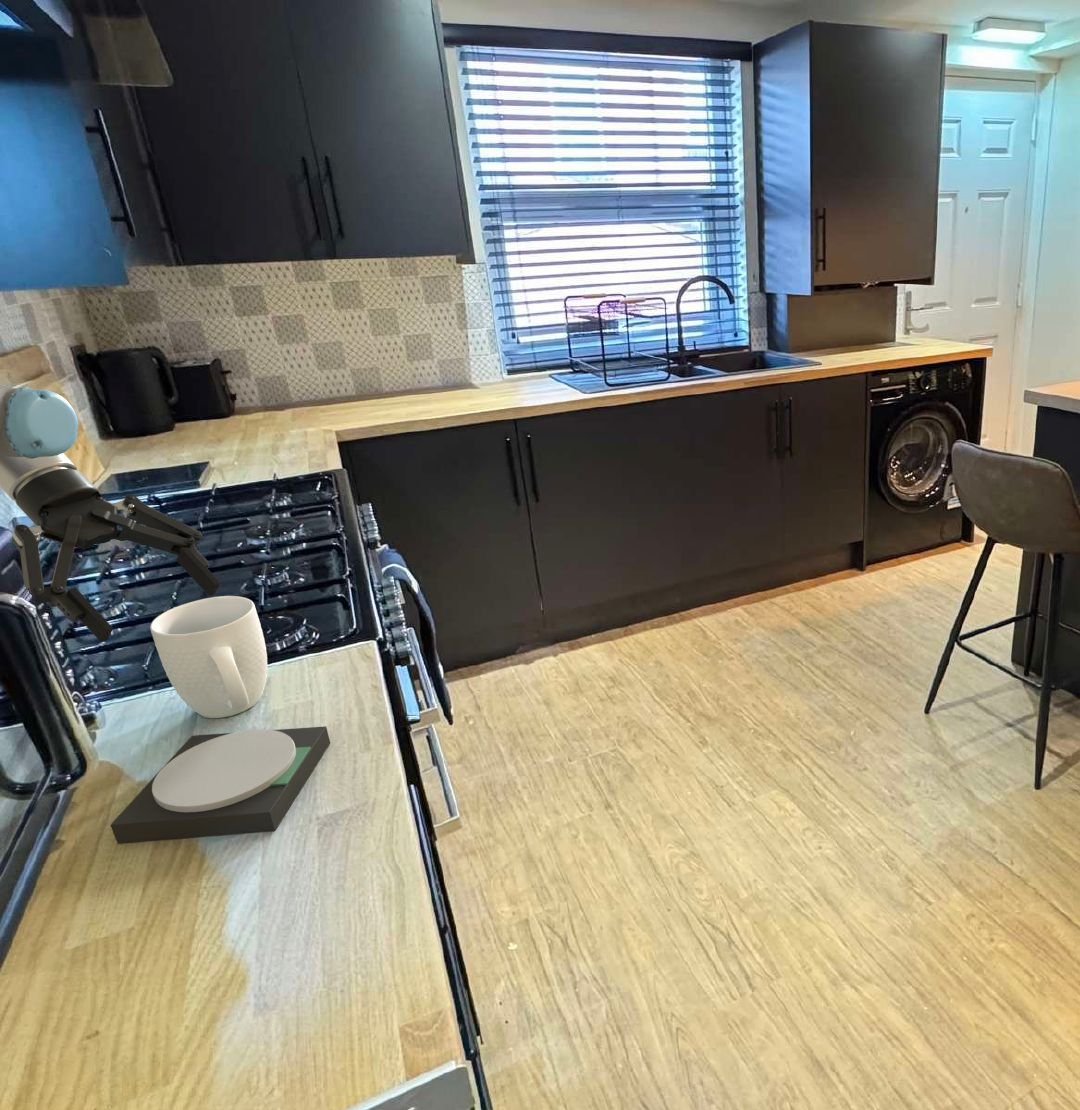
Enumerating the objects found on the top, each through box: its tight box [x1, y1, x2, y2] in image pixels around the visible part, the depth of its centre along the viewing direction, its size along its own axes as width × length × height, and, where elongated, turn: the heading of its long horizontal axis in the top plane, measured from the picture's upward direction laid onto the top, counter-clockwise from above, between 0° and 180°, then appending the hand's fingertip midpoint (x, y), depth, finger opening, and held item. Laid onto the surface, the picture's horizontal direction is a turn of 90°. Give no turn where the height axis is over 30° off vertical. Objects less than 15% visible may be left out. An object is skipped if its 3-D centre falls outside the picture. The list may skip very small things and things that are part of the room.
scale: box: [110, 725, 331, 845], centre depth 85 cm, size 15×15×3 cm
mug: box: [149, 595, 268, 719], centre depth 97 cm, size 15×11×13 cm
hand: (164, 611), depth 98 cm, fingers open, 13 cm apart
